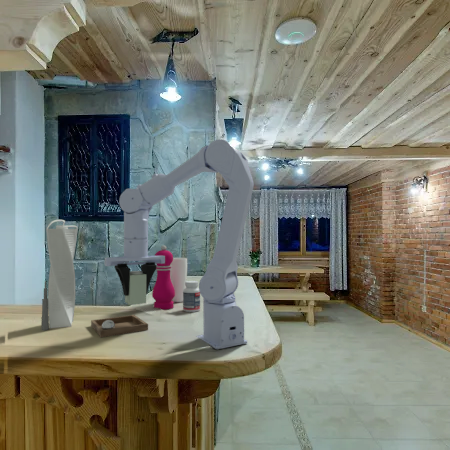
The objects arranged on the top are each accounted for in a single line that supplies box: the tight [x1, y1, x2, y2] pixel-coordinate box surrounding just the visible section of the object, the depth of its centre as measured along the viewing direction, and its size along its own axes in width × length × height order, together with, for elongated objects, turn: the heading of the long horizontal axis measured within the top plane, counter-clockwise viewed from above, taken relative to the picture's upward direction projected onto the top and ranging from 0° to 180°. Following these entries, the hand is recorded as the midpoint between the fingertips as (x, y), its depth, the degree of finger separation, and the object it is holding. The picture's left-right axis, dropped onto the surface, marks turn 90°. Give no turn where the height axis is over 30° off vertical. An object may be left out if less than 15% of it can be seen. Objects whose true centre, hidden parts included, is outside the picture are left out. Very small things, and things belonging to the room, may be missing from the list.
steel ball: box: [102, 320, 115, 330], centre depth 82 cm, size 3×3×3 cm
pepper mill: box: [151, 244, 175, 311], centre depth 111 cm, size 7×7×20 cm
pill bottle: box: [182, 280, 201, 313], centre depth 108 cm, size 5×5×9 cm
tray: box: [90, 314, 149, 338], centre depth 86 cm, size 11×11×2 cm
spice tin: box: [124, 270, 147, 306], centre depth 85 cm, size 4×4×8 cm
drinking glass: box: [170, 257, 188, 303], centre depth 121 cm, size 7×7×15 cm
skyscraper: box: [40, 219, 79, 331], centre depth 89 cm, size 8×8×28 cm
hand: (135, 294), depth 85 cm, fingers closed on spice tin, 4 cm apart
